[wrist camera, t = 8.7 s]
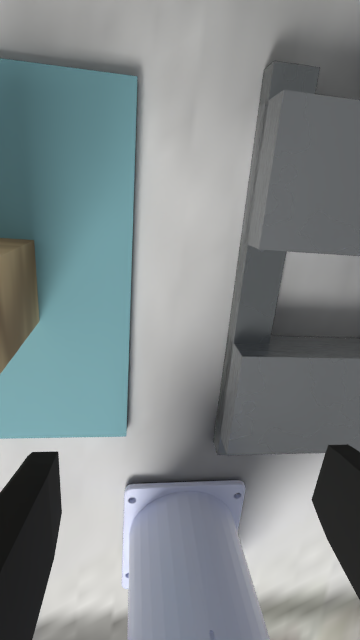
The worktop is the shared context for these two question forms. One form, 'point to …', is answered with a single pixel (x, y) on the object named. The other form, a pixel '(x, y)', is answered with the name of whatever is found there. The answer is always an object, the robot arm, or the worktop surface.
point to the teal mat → (69, 245)
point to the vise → (267, 266)
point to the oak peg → (17, 296)
